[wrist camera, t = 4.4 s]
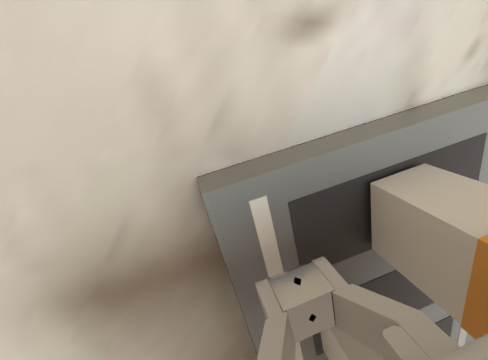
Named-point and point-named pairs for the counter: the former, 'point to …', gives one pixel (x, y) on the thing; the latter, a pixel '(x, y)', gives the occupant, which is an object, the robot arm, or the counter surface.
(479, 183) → the block
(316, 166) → the panel
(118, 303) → the counter surface
